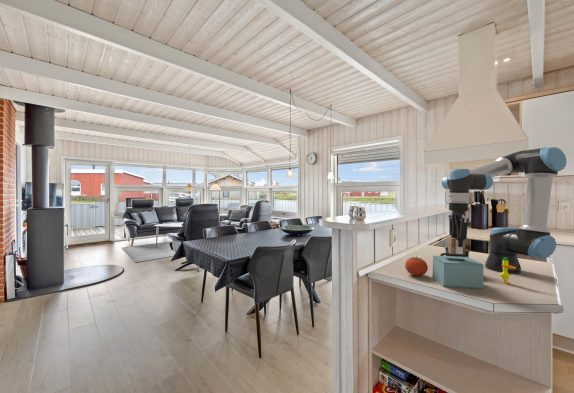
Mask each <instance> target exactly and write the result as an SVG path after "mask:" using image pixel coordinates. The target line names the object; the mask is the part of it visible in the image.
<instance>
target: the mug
mask: <svg viewBox="0 0 574 393" xmlns="http://www.w3.org/2000/svg"><path fill="white" fill-rule="evenodd" d="M444 250H445V252H443V253H442V252H441V253H440V254H439V256H454V257H469V258H470V256H469V254H470V250H469V249H468V248H465V255H460V254H450V253H448V246H447V247H444Z"/></svg>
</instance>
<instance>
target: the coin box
mask: <svg viewBox="0 0 574 393" xmlns="http://www.w3.org/2000/svg"><path fill="white" fill-rule="evenodd" d="M431 277H432V279H433V280H435V281H436V282H437V283H438V284H440V286H442V287H443V288H459V289H460V288H462V289H477V290H478V289H479V290H483V289H484V288H483V287H484V264H483V263H482V262H479V261H477V260H475V259H474V258H472V257H470V256H469V257H454V256H445V255H444V256H440V255H433V256H432V276H431Z"/></svg>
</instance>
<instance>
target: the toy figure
mask: <svg viewBox="0 0 574 393" xmlns="http://www.w3.org/2000/svg"><path fill="white" fill-rule="evenodd" d="M503 259H504V260H503V265H501V266H503V272H499V271H498V272H499V275H500V278H501V279H502V280H503V282H502V283H503V284H504V285H510V284H511V283H510V282H509V281H508V280H509V279H510V273H508V272H507V271H508V268H509V269H513V270H514V269H516V267H514V266H511V265H508V260H507V258H503Z"/></svg>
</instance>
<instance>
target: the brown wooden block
mask: <svg viewBox="0 0 574 393" xmlns="http://www.w3.org/2000/svg"><path fill="white" fill-rule="evenodd" d="M447 238H448V241H447V243H448V244H447V247H448V253H450V254H456V239H455V238H452V237H447ZM466 241H467V239H464V240H463V254H460V255H465V249H466V244H467V242H466Z"/></svg>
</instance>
